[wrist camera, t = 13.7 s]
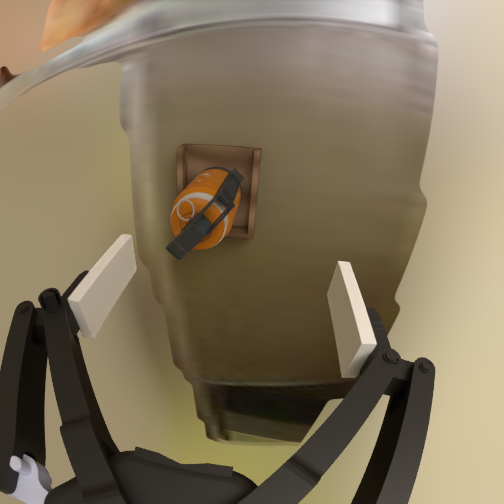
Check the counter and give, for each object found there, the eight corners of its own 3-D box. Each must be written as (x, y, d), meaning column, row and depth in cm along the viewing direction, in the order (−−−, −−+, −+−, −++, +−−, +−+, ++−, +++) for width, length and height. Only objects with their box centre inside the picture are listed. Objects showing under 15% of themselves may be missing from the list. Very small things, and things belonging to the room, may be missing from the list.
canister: (184, 188, 50) (140, 239, 33) (225, 147, 46) (196, 178, 29) (218, 221, 53) (192, 284, 36) (261, 183, 49) (253, 234, 32)
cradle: (183, 144, 47) (176, 147, 43) (261, 148, 47) (260, 152, 43) (184, 223, 55) (178, 232, 52) (254, 229, 55) (252, 239, 51)
